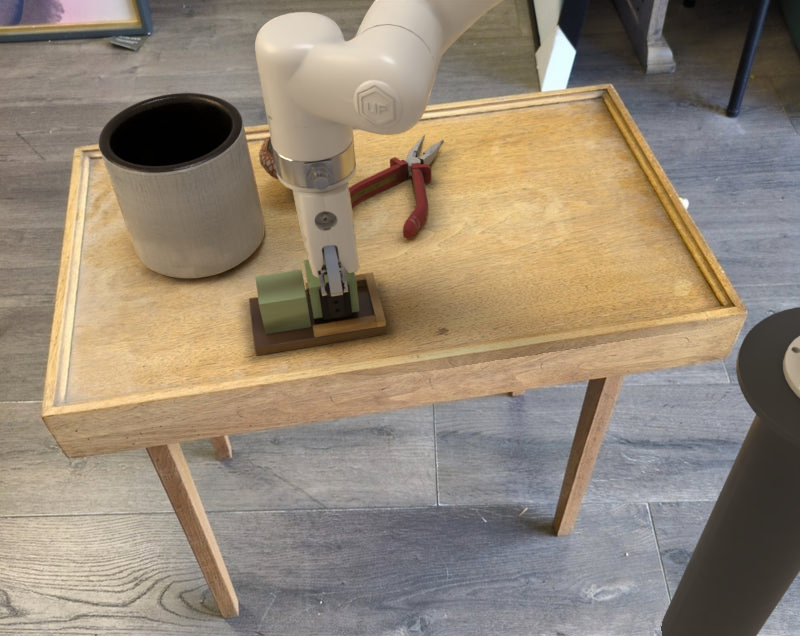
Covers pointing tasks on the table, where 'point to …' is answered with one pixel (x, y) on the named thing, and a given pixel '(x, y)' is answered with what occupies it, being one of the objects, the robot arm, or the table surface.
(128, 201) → the planter
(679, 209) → the table surface
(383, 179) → the pliers
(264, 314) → the brown wooden rectangular tray
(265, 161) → the acorn
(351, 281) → the block
